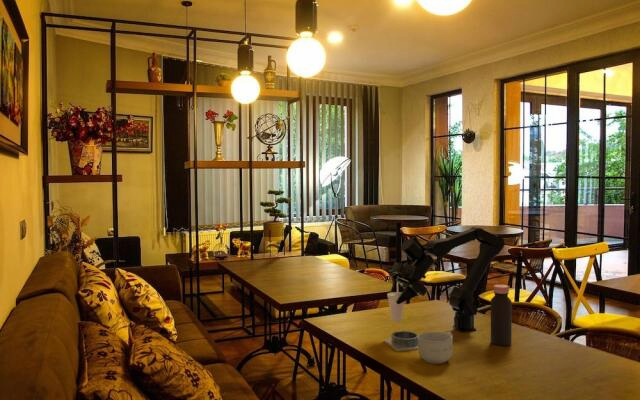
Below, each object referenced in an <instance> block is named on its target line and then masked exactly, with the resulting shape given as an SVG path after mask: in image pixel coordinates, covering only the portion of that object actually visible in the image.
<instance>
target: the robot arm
mask: <svg viewBox="0 0 640 400" xmlns="http://www.w3.org/2000/svg"><path fill="white" fill-rule="evenodd" d="M473 241H477V242H478V243H479V253H478V255H477V256H476V258H475V260H474V262H473V264H472V266H471V267H470V270H469V271H468V273H467V274H466V276H465V278H464V280H463V281H462V284H461V285H459V286H453V288H452V290H451V291H450V293H449V294H448V295H449V298H448V304H449V305H450V306H451V308H452V311H453V312H454V317H453V325H452V327H453V329H455V330H456V331H457V330H458V331H460V332H463V333H464V332H471V331H477V328H475V316H477V314H478V308H477V307H476V306H475V305H474V304H473V302H474V297H475V293H474V292H475V290H476V289H477V286H478V284H479V282H480V281H481V280H482V278H483V275H484V274H485V272H486V270H487V268H488V266H489V264H490V263H491V260H492V259H494V258H495V257H497V255H499V254H500V253H501V251H502V250H503V249H504V248H505V244H506V243H505V239H504V237H503V236H500V235H496V234H493V233H491V232H488V231H487V230H485V229H483V228H482V227H476V226H473V227H470V228H468V229H465V230H463V231H461V232H459V233H456V234H454V235H451V236H449V237H448V236H447V237H445V238H444V237H443V238H436V239H435V238H434V239H431V240H428V241H426V243H423V244H422V243H421V242H420V241H419V240H418V238H417V237H415V236H411V238H408V239H407V240H406V241H404V242H403V243H402V244H401V246H400V251H402V253H404V255H405V256H407V257H408V259H409V260H411V261H414V260H415V261H414V262H413V263H412V264H410V263H407V262H404V263H400V262H397V261H394V263H393V266H392V269H391V271H392V272H391V273H390V274H389V275H388V276H389V278H390V279H391V282H392V286H391V290H390V292H397V282H398V292H402V294H401V295H400V297H399V298H398V300H397V301H396V303H397V304H400V303H402V302H404V303H405V302H406V301H408V300H411V299H413V298H416V297H419V296H422V297H425V295H426V294H427V292H428V291H427V290H428V289H427V287H425V285H423V283H422V282H421V281H422V280H423V279H424V280H425V279H426V278H427V276H426V274H427V273H428V271H429V270H430V269H431V268H432V267H434V268H439V266H440V264H439V259H436V258H442V257H444V256H446V255H448V254H449V253H451V251H452V250H454V249H455V248H458V247H460V246H462V245H463V246H464V245H465V244H467V243H470V242H473ZM433 257H436V258H433ZM390 292H389V293H390Z"/></svg>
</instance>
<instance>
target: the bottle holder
mask: <svg viewBox="0 0 640 400" xmlns="http://www.w3.org/2000/svg"><path fill="white" fill-rule="evenodd" d="M418 335H419V333H417V332H414V331H410V330H408V331H407V330H398V331H397V330H396V331H394V332H392V333H391V337H390V338H384V339H383V341H384V343H386V344H387V345H389V346H390V347H391V348H392V349H393V350H395V351H396V352H405V351H406V352H407V351H413V350H418V339H417V336H418Z"/></svg>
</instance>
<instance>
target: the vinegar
mask: <svg viewBox="0 0 640 400" xmlns="http://www.w3.org/2000/svg"><path fill="white" fill-rule="evenodd" d="M509 293H510V288H509V285H507V284H494V285H493V294H494V296H493V297H491V298H490V342H491V344H493V345H495V346H502V347H507V346H510V345H512V330H513V329H512V323H513V322H512V316H513V315H512V313H513V312H512V311H513V310H512V309H513V307H512V306H513V305H512V300H511V298H510V297H509Z"/></svg>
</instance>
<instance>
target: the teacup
mask: <svg viewBox="0 0 640 400" xmlns="http://www.w3.org/2000/svg"><path fill="white" fill-rule="evenodd" d="M417 339H418V349H417V350H418V354H419V356H420V358H421V359H423V360H424V361H425V362H426V363H428V364H434V365H437V364H444V363H446V362H447V361H448V360H449V359H450V358H451V357H452V356H453V341H454V335H453V333H452V332H451V331H447V332H444V331H443V332H442V331H426V332H421V333H418V336H417Z"/></svg>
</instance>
